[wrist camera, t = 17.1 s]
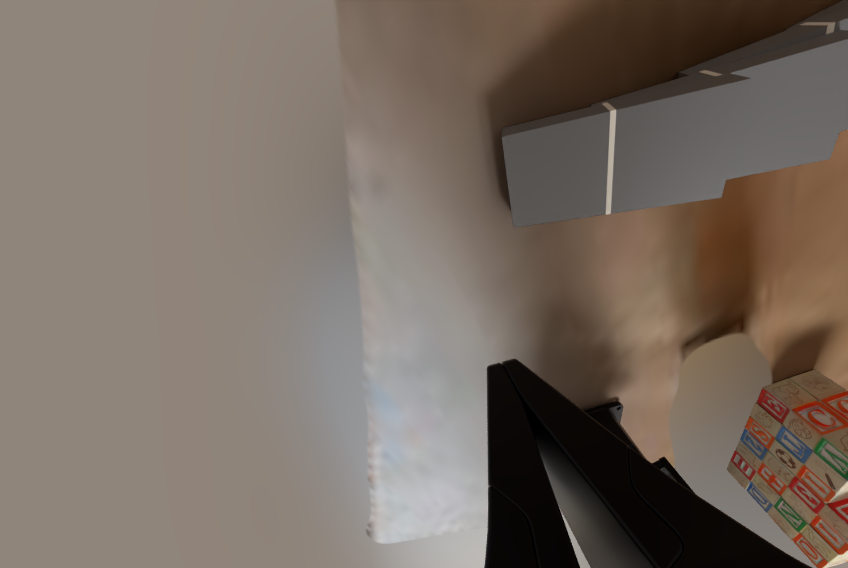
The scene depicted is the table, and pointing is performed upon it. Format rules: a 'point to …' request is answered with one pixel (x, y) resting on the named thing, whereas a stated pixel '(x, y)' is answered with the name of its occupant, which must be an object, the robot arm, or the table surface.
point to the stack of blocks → (800, 463)
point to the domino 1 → (625, 153)
